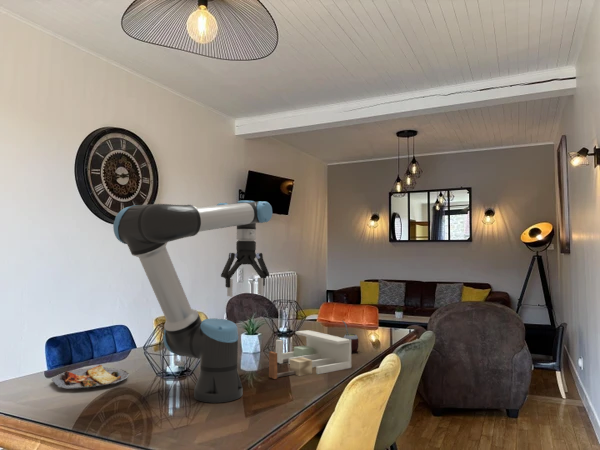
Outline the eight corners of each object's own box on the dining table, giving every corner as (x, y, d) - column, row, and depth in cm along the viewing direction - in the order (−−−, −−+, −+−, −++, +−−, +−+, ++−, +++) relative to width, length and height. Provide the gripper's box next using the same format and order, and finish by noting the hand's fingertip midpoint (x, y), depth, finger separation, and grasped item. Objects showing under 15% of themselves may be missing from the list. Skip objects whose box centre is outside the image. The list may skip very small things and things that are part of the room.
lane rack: (317, 374, 173) (317, 344, 174) (276, 360, 196) (276, 333, 196) (351, 367, 183) (351, 339, 184) (308, 355, 206) (308, 330, 206)
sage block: (282, 364, 188) (282, 341, 188) (273, 362, 193) (274, 339, 193) (313, 359, 197) (313, 337, 198) (304, 356, 202) (304, 335, 203)
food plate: (45, 379, 163) (46, 369, 164) (113, 369, 178) (113, 360, 179) (63, 398, 144) (63, 387, 144) (137, 386, 159) (137, 375, 159)
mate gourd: (358, 351, 215) (358, 318, 216) (358, 354, 207) (358, 320, 208) (342, 350, 216) (342, 318, 217) (342, 354, 208) (342, 320, 209)
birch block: (276, 380, 165) (276, 354, 165) (267, 376, 169) (267, 351, 170) (312, 373, 174) (312, 348, 175) (302, 370, 179) (302, 345, 180)
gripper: (221, 239, 170) (220, 297, 169) (278, 241, 185) (277, 294, 183) (212, 240, 176) (211, 296, 175) (268, 241, 191) (267, 293, 189)
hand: (245, 295), depth 179 cm, fingers open, 13 cm apart
